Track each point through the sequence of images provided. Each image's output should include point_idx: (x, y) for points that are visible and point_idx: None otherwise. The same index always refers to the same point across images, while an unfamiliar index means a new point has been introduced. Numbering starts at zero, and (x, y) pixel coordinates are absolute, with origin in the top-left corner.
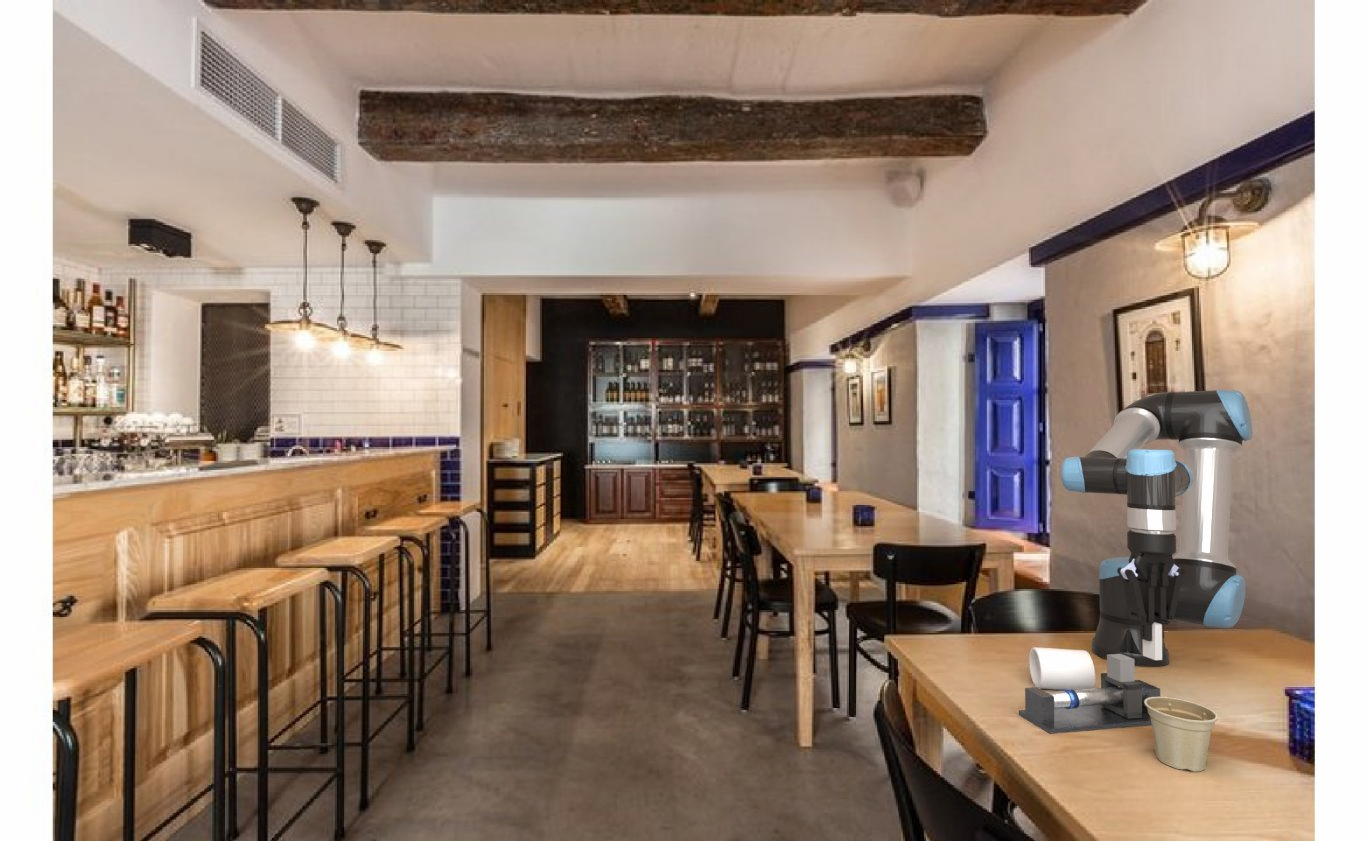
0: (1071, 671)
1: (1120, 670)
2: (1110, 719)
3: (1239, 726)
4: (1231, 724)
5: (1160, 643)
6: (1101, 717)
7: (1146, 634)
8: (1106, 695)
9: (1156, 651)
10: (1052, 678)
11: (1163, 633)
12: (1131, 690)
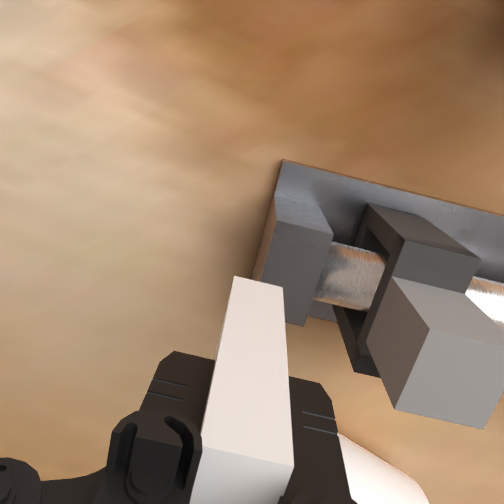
0: (358, 470)
1: (490, 320)
2: (471, 241)
3: (68, 36)
4: (78, 60)
5: (237, 330)
6: (481, 263)
7: (335, 424)
8: (497, 289)
9: (274, 310)
10: (397, 475)
11: (158, 384)
12: (447, 245)
